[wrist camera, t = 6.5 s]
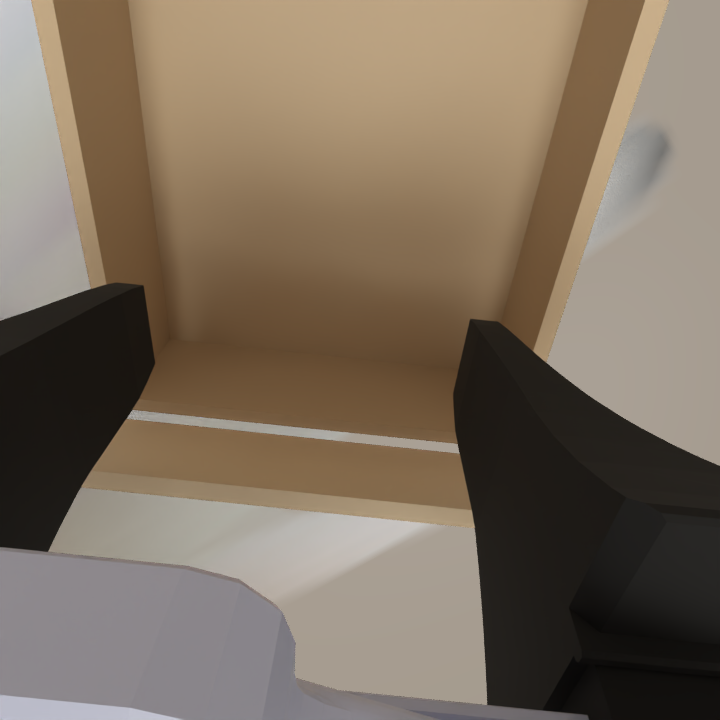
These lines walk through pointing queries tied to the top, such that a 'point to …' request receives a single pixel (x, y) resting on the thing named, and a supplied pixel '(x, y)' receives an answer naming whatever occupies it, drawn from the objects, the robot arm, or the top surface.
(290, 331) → the carton
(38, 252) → the top surface
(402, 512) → the flap
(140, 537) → the top surface
